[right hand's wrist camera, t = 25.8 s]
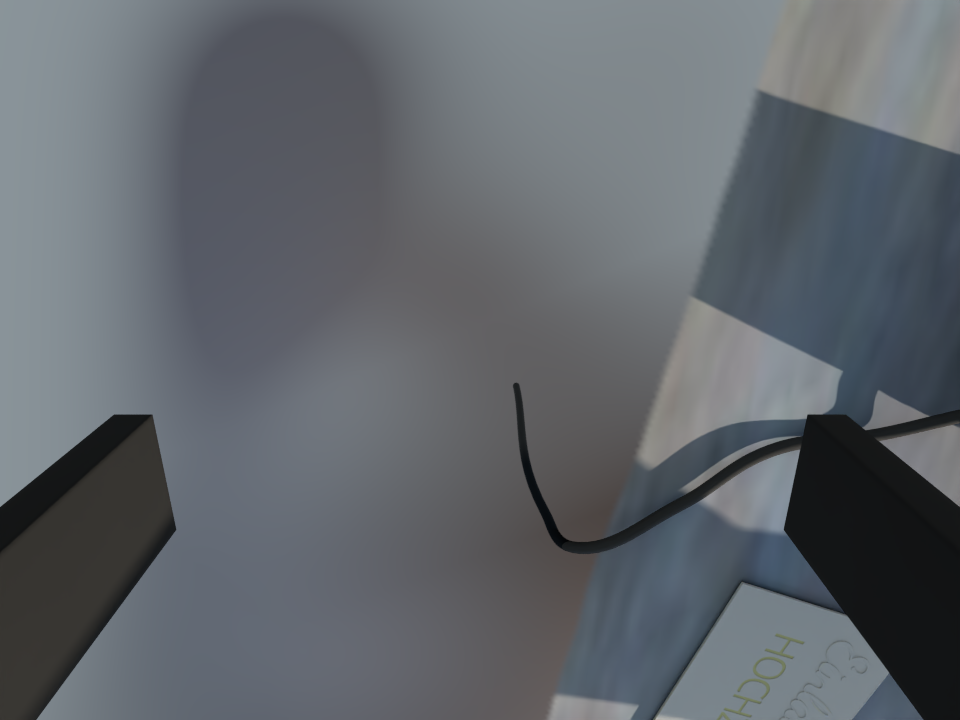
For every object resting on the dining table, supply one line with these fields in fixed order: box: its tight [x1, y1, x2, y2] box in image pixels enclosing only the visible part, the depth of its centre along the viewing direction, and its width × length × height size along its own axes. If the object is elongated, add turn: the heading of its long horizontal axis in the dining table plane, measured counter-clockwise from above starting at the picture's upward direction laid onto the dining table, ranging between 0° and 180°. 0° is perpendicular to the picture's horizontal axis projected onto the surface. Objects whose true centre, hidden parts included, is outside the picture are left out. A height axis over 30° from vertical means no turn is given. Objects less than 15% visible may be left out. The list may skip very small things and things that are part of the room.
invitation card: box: [653, 582, 889, 720], centre depth 51 cm, size 21×1×15 cm
